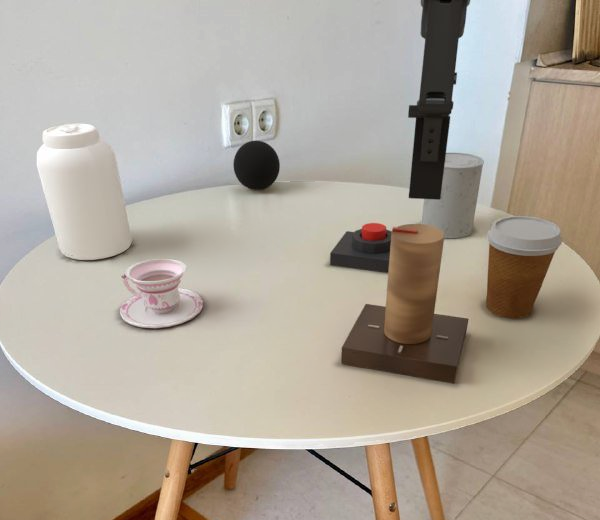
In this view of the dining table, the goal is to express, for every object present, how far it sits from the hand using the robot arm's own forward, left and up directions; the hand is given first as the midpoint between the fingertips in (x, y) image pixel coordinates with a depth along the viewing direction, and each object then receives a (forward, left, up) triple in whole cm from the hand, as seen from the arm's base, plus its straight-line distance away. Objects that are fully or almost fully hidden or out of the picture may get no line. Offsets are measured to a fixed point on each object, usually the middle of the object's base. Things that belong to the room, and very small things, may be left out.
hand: (426, 175), depth 57 cm
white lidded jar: (+60, -24, -24) cm, 69 cm away
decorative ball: (+45, -63, -24) cm, 81 cm away
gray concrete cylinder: (+2, -51, -24) cm, 56 cm away
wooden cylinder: (+1, -7, -21) cm, 23 cm away
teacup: (+37, -7, -24) cm, 45 cm away
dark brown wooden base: (+1, -7, -24) cm, 25 cm away
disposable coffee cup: (-11, -22, -24) cm, 35 cm away
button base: (+12, -34, -24) cm, 43 cm away
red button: (+12, -34, -20) cm, 41 cm away
